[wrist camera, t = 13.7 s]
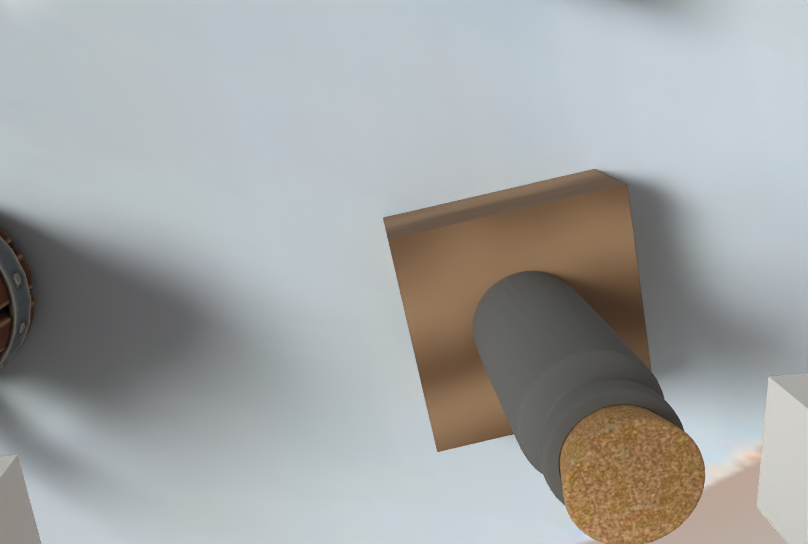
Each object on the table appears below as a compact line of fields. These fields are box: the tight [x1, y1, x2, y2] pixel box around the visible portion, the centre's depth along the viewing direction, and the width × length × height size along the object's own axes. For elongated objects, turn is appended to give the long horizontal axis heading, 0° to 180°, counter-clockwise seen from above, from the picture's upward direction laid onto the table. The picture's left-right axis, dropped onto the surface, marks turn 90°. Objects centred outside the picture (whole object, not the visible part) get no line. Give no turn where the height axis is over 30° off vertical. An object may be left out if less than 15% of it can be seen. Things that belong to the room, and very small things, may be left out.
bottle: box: [473, 271, 705, 544], centre depth 32 cm, size 6×6×15 cm
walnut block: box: [383, 169, 651, 452], centre depth 41 cm, size 12×12×5 cm
